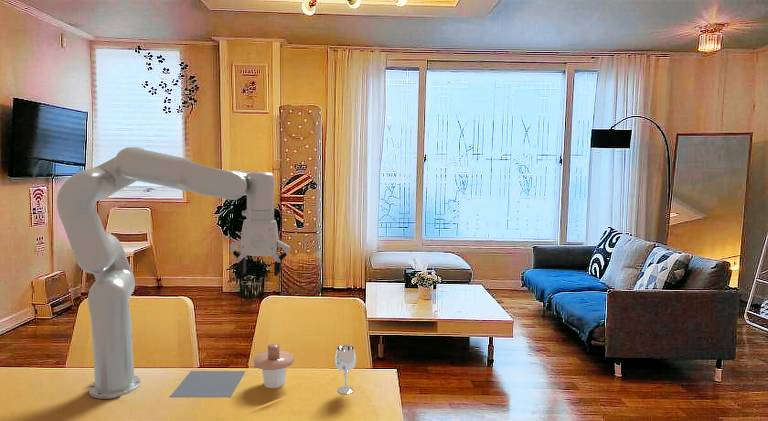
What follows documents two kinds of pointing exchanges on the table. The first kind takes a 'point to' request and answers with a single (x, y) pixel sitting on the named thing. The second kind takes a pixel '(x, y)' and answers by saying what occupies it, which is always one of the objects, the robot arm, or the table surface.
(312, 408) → the table surface
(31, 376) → the table surface
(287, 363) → the lid
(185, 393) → the mat
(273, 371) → the white cup
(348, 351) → the wineglass
